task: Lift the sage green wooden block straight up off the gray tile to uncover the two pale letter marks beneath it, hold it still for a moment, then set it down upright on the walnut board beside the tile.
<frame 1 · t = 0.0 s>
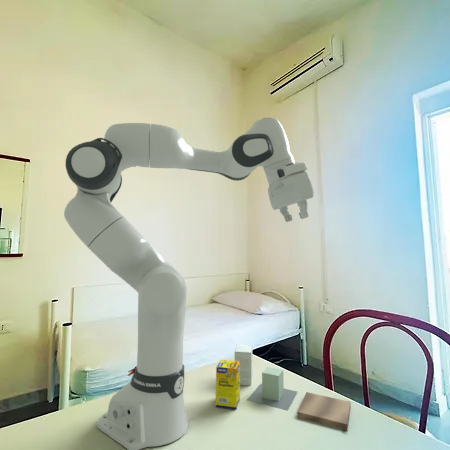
hand: (296, 219, 85), 52 cm above the table, tool tilted 20°, fingers open, 8 cm apart
sage block: (273, 395, 88), resting on gray tile
gray tile: (273, 396, 88), on the table
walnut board: (324, 412, 79), on the table
small box: (243, 381, 98), on the table
supplement box: (228, 404, 83), on the table
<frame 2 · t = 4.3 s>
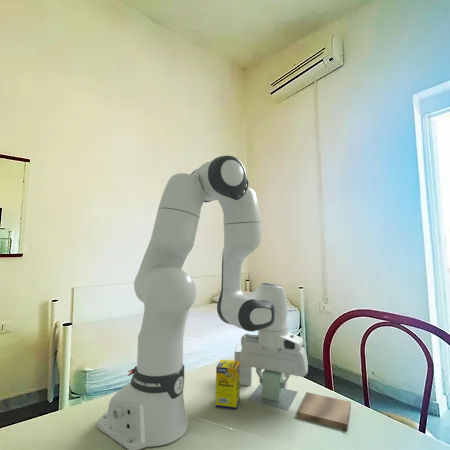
hand: (273, 385, 88), 3 cm above the table, tool pointing down, fingers closed on sage block, 5 cm apart
sage block: (273, 395, 88), resting on gray tile, touching gripper
everything else where it was.
when the fingers open (6 cm above the table, at t = 13.2 s): sage block drops 2 cm, resting on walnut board.
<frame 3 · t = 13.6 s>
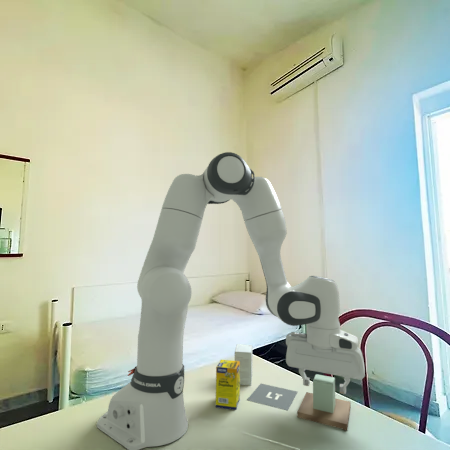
hand: (324, 388, 80), 6 cm above the table, tool pointing down, fingers open, 8 cm apart
sage block: (324, 406, 79), point 1 cm above the table, touching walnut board
everything else where it was.
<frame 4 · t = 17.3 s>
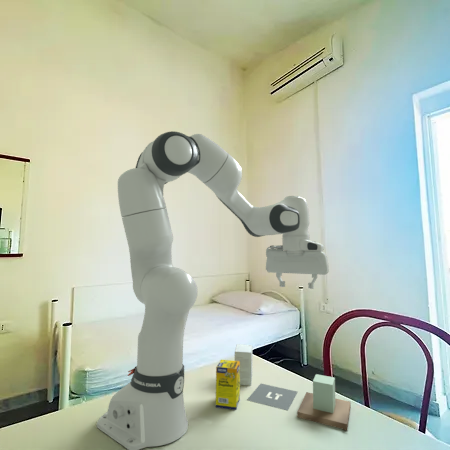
hand: (296, 287, 97), 31 cm above the table, tool pointing down, fingers open, 8 cm apart
nothing on the table moved.
at the end: sage block inside the target area on the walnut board (0.1 cm from its centre), point 1.5 cm above the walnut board's base; sage block tilted 0°; the gripper is holding nothing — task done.
